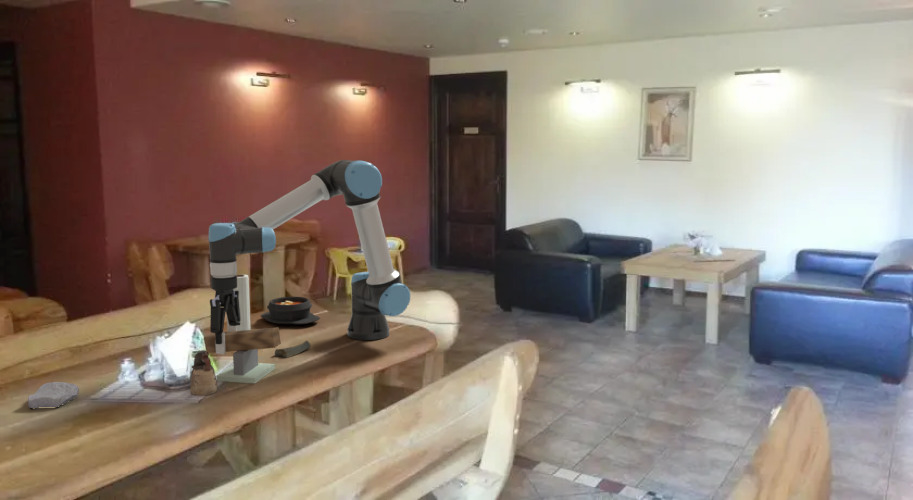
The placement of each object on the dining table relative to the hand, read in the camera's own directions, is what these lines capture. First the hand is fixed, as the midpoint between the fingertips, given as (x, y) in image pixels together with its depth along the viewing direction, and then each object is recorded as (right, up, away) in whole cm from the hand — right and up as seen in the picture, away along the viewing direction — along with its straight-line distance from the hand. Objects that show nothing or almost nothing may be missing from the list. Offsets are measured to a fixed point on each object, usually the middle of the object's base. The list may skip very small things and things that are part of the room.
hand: (227, 350), depth 223 cm
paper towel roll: (-9, 0, +46) cm, 47 cm away
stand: (+6, -7, 0) cm, 9 cm away
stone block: (-39, -11, -23) cm, 47 cm away
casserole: (+5, +2, +63) cm, 63 cm away
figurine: (-2, -10, -15) cm, 18 cm away
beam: (+5, +1, -1) cm, 6 cm away
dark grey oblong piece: (+15, -4, +23) cm, 28 cm away
